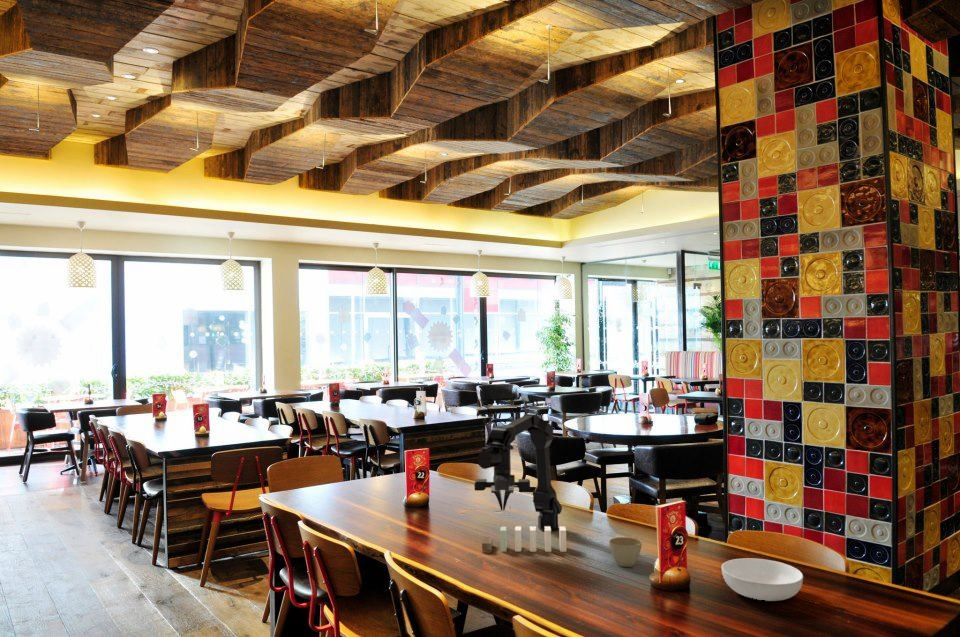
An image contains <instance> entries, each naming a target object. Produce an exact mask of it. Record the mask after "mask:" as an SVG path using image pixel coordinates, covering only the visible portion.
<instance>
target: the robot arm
mask: <svg viewBox="0 0 960 637" xmlns="http://www.w3.org/2000/svg"><path fill="white" fill-rule="evenodd" d="M525 431H527V433H528V434H529V437H530V441H531V443H532V445H533V446H534V447H535V460H536V461H535V462H536V479H537V480H536V481H537V487H536V488H535V490H534V491H533V492H532V503H533V504H534V505H533V506H534V509H535V510H534V511H535V513H538V514H539V515H538V517H537V522H538V523H537V524H538V525H537V527H538V529H540V530H541V531H543V532H545V526H550V527H551V532H553V531H559V515H561V513H562V510H563V506H562V505H561V503H560V501H559V500H558V497H557V492H556V489H554V487H553V486H552V477H551V476H552V474H551V459H550V445H551V443H552V441H553V440H554V427H553V426H552V425H551V424H550V423H549V422H547V421H546V420H544V419H542V418H541V417H540V416H538V414H536V413H535V414H534V413H533V414H532V413H526V414H523V416H521V417H519V418H518V419H515V420H513V421H511V422H509V423H508V424H501V425H496V426H493V427H492V428H491V429H490V432H489V435H488V436H487V440H486V442H485V444H484V447H482V448H481V452H479V453H478V455H477V459H476V460H477V464H478V466H479V468H481V469H484V470H487V469H490V468H493V476H492V478H493V479H492V480H493V481H488V479H487V478H477V479H476V480H475V481H474V491H477V492H480V491H485V490H486V489H487V488H489V489H491V490H490V492H491V494H494V495H495V497H496V499H497V501H498V505H499V508H500V511H505V509H506V506H507V503H508V499H509V498H510V495H511V494H513V493H514V492H515V488H518V489H519V491H524V492H525V491H526V492H527V491H531V481H530V478H519V479H518V481H516V480H515V479H516V478H515V474H512V473H511V471H512V469H511V450H514V446H513V445H512V443H513V442H514V441H515V440H516V437H517V436H518V435H520V434H521V433H524V432H525ZM502 491H504V498H503V499H502Z"/></svg>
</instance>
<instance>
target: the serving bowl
mask: <svg viewBox="0 0 960 637" xmlns="http://www.w3.org/2000/svg"><path fill="white" fill-rule="evenodd" d="M720 569H721V573H722V577H723V580H724V581H725V583H726V585H727V586H728V587H729V588H730V589H732V590H733V591H734V592H735V593H737V594H739V595H741V596H744V597H746V598H750V599H752V598H753V600H756V599H757V601H761V600H765V601H764V602H777V601H784V600H788V599H790V598H792V597H794V596H796V595H797V594H798V593H799V591H800V590H801V588H802V586H803V582H804V575H803V573H802V572H801V571H800V570H799V569H798V568H796V567H794V566H792V565H790V564H788V563H787V564H786V563H784V562H780V561H776V560H772V559H771V560H770V559H766V558H765V559H763V558H753V557H752V558H749V557H746V558H745V557H744V558H734V559H730V560H727V561H725V562H723V563H722V564H721V568H720Z"/></svg>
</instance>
